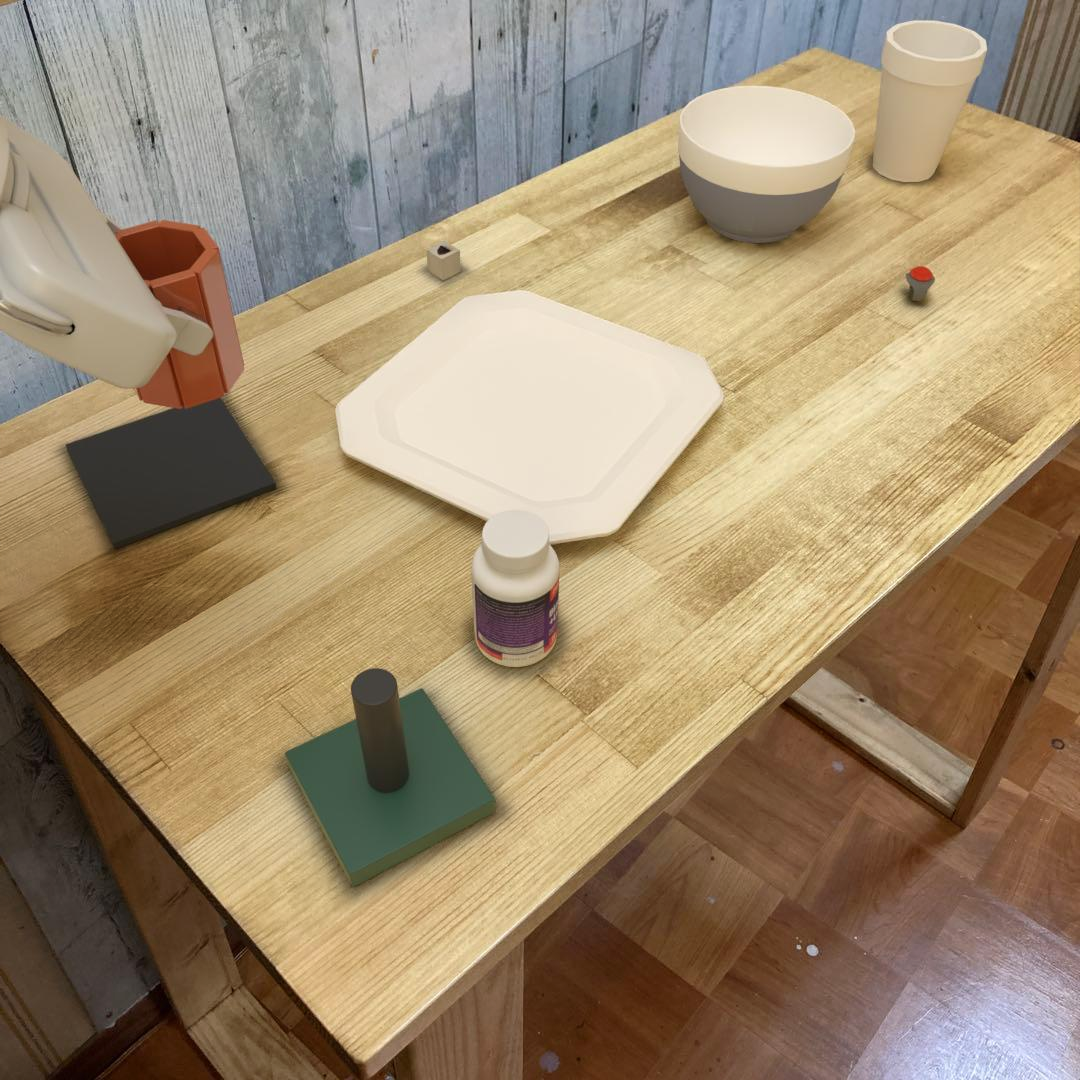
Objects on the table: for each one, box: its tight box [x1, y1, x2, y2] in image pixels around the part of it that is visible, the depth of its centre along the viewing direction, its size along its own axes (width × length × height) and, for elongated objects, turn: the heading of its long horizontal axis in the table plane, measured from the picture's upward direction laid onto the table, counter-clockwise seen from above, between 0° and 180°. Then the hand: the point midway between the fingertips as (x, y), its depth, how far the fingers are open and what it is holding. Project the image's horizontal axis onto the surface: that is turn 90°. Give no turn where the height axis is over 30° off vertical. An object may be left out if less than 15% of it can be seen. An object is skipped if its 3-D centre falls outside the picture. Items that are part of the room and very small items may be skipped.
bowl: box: [677, 85, 856, 244], centre depth 106 cm, size 16×16×10 cm
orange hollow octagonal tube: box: [114, 219, 245, 409], centre depth 62 cm, size 6×6×8 cm
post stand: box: [284, 667, 496, 888], centre depth 62 cm, size 9×9×10 cm
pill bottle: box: [470, 510, 561, 668], centre depth 70 cm, size 5×5×10 cm
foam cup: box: [872, 20, 988, 183], centre depth 112 cm, size 10×9×13 cm
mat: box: [65, 397, 277, 550], centre depth 84 cm, size 12×12×1 cm
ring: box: [905, 265, 936, 302], centre depth 100 cm, size 2×3×3 cm
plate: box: [334, 289, 725, 546], centre depth 88 cm, size 25×25×2 cm
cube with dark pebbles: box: [426, 240, 462, 281], centre depth 102 cm, size 2×2×2 cm
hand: (179, 301), depth 62 cm, fingers closed on orange hollow octagonal tube, 6 cm apart
